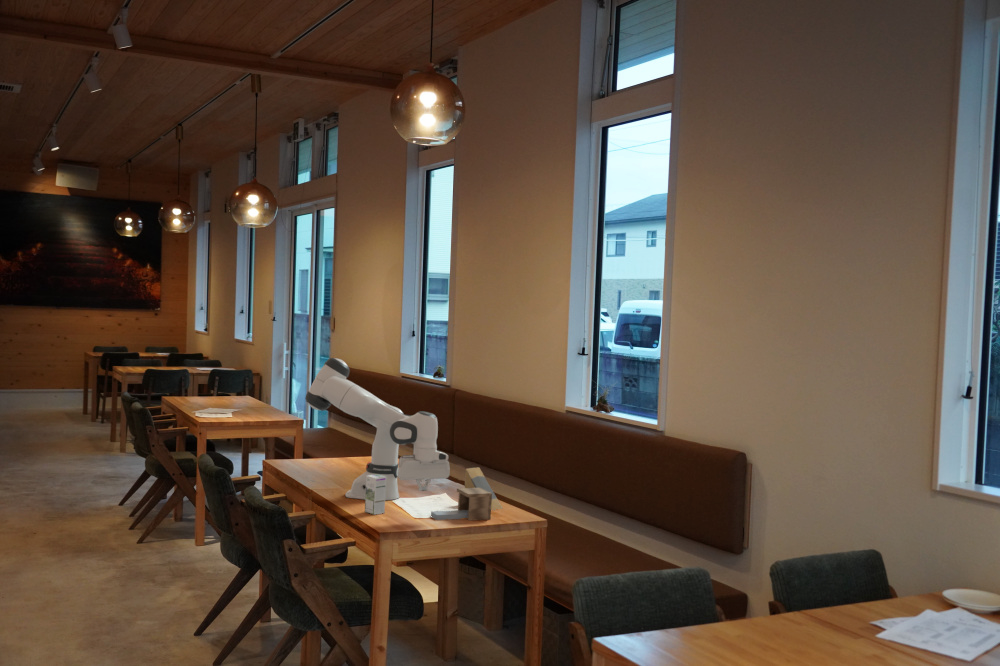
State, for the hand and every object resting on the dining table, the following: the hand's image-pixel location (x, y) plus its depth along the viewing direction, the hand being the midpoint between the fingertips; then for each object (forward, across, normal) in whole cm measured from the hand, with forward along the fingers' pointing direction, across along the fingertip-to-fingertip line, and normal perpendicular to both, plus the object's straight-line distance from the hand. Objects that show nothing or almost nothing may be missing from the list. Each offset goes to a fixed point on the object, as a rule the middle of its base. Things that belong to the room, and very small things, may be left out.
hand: (422, 490), depth 331 cm
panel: (+12, +15, 0) cm, 19 cm away
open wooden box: (+11, +22, -1) cm, 24 cm away
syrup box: (+11, -14, +14) cm, 23 cm away
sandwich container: (+12, +34, +16) cm, 40 cm away
